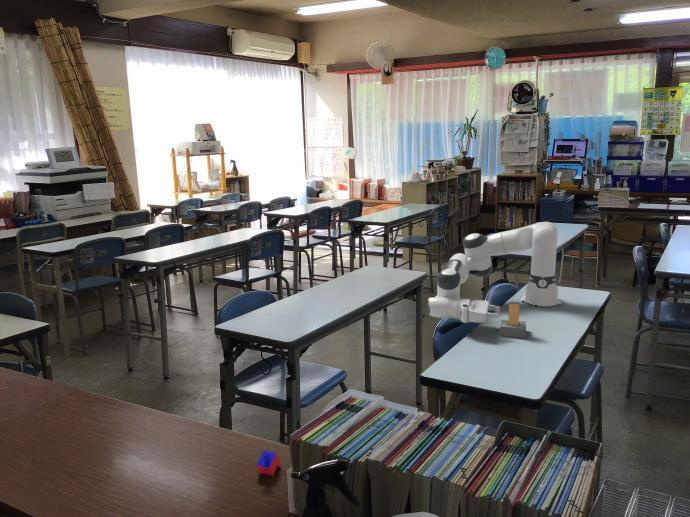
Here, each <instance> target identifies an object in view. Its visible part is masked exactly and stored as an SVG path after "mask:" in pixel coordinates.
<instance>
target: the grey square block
mask: <svg viewBox="0 0 690 517" xmlns="http://www.w3.org/2000/svg"><path fill="white" fill-rule="evenodd" d="M508 320H509V319H504V318H502V319H501V320H500V326H499V327H500V328H499V336H500V337H508V338H518V337H519V339H526V334H527V321H526V320H519V324H518V326H511V325H508Z"/></svg>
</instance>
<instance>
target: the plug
mask: <svg viewBox="0 0 690 517" xmlns="http://www.w3.org/2000/svg"><path fill="white" fill-rule="evenodd" d="M520 303H521V299H518V298H517V299H515V298H509V304H508V307H509V308H508V319H507V320H508V325H511V326H518V324H519V321H520V307H521V306H520V305H521V304H520Z"/></svg>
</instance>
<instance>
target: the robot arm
mask: <svg viewBox="0 0 690 517" xmlns="http://www.w3.org/2000/svg"><path fill="white" fill-rule="evenodd" d="M558 236H559V234H558V228H557V227H556V225H555V224H554V223H553V222H550V221H541V222H537V223H532V224H529V225H525V226H522V227H518V228H515V229H510V230H506V231H500V232H496V233H494V234H489V235H488V236H487V235H484V234H483V233H479V232H478V233H477V232H474V233H470V234H468V235H466V236H465V237H464V238H463V240H462V244H463V245H462V246H463V249H464V253H459V252H458V253H454V255H452V256H451V257H450V259H449V260H448V261H447V262H446V265H445V266H444V268H443V269H442V270H440V271H439V272H438V273H437V274H436V284H437V288H436V291H437V293H436V296H434V297H428V298H427V301H426V302H427V303H426V304H427V313H428V316H431V317H434V318H439V319H455V320H460V321H461V322H462V323H464V324H467V323H486V322H487V319H499V317H500V313H499V312H501V307H500V306H497V305H493V304H490V301H489V300H479V299H478V300H475V299H474V300H472V301H471V299H469V298H461V295H460V293H461V292H460V291H461V284H463V283H465V282H466V281H467V279H468V277H469V275H472V276H474V277H476V278H484V277H487V276H489V275H490V274H491V273H492V272H493V269H494V268H493V263H492V258H491V257H493V256H504V255H508V254H515V253H519V252H524V251H526V250H530V249H531V264H530V266H531V267H530V273H529V278H528V279H529V281H528V283H527V284H526V285H525V286H524V291H525V292H524V295H523V296H522V297H521V298H520V302H522V301H524V302H523V303H526V302H527V303H526V304H528V303H529V305H531V304H532V306H535V305H537V306H538V307H554V306H558V304H559V305H562V301H561V300H560V299H559V286H557V284H556V281H557V277H556V276H557V275H556V264H557V263H556V262H557V246H558V245H557V244H558ZM489 311H495V312H489Z"/></svg>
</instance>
